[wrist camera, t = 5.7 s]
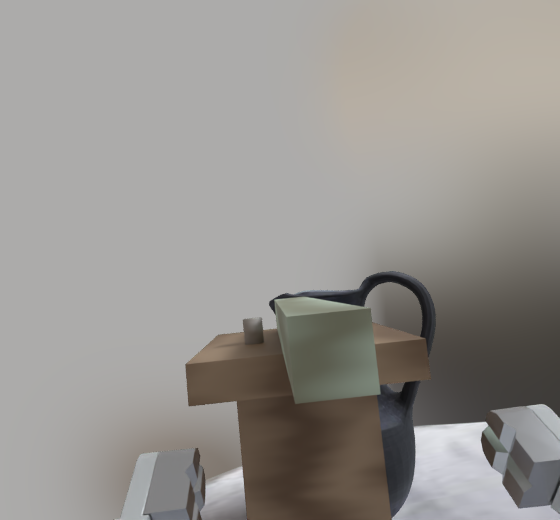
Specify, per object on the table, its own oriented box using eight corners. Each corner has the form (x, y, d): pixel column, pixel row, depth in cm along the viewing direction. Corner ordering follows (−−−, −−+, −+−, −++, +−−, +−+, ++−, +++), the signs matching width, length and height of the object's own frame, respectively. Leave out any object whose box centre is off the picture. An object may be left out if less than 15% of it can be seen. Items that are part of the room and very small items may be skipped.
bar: (307, 326, 29) (304, 296, 29) (380, 394, 10) (370, 308, 10) (277, 330, 29) (274, 299, 29) (295, 403, 10) (286, 316, 10)
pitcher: (306, 485, 54) (285, 283, 57) (461, 504, 46) (430, 267, 49) (252, 573, 38) (227, 287, 41) (475, 625, 30) (427, 265, 33)
